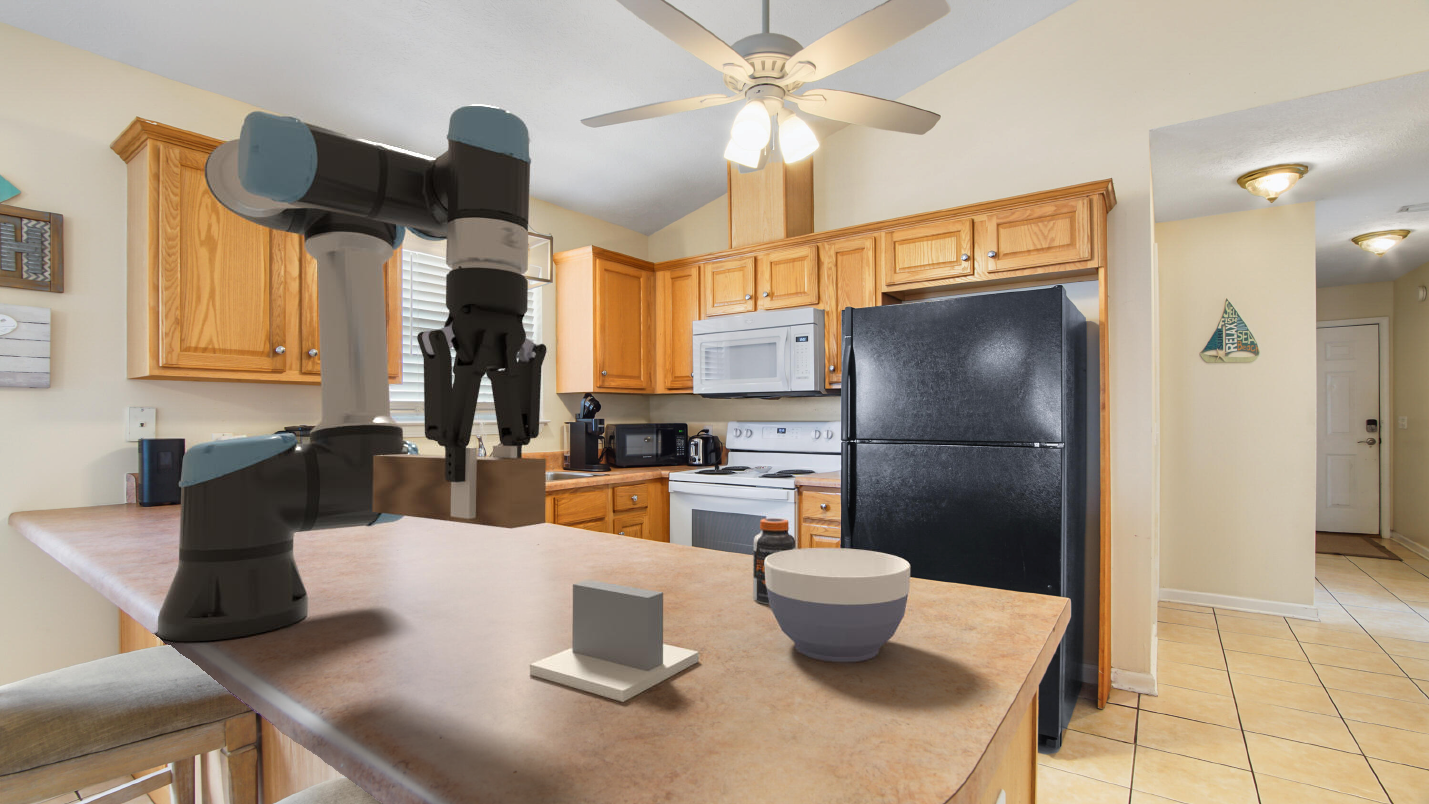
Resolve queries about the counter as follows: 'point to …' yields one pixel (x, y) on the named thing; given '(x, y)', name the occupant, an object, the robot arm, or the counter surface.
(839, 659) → the bowl
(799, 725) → the counter surface
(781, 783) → the counter surface
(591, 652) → the stand
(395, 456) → the beam
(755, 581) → the pill bottle
